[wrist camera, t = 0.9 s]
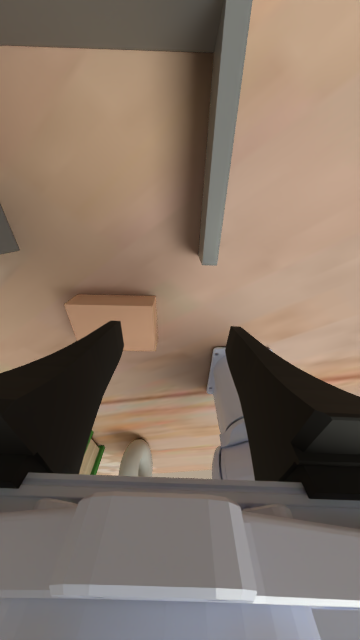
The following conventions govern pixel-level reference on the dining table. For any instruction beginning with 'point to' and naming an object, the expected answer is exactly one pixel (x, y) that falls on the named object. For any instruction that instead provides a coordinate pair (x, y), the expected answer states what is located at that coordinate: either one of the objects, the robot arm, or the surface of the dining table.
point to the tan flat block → (116, 318)
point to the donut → (136, 460)
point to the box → (158, 35)
